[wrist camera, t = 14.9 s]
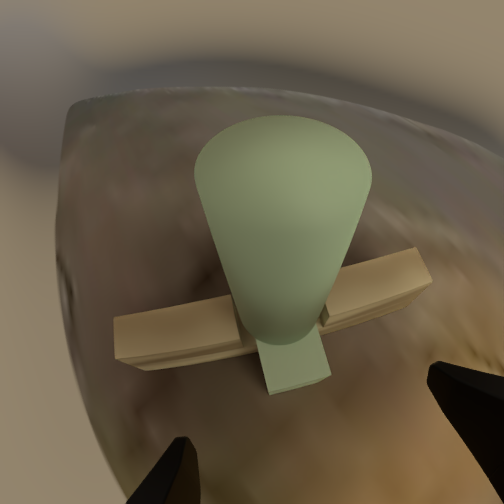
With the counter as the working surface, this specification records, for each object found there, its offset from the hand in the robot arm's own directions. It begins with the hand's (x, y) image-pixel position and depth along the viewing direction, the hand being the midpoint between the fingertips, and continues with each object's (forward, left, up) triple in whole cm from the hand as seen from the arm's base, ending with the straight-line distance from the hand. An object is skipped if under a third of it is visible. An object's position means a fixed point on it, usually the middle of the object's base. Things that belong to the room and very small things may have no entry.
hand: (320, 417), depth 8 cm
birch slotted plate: (+5, +1, -7) cm, 9 cm away
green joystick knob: (+5, +1, -7) cm, 9 cm away
